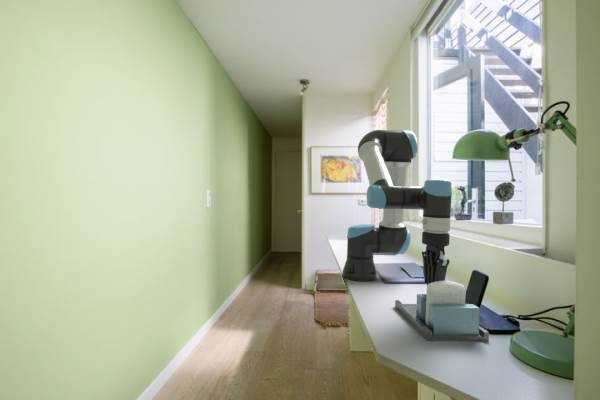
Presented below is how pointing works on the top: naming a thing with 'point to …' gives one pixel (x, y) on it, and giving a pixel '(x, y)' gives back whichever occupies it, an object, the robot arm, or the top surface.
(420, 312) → the sliding jaw
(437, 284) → the white rounded slab
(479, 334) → the vise
